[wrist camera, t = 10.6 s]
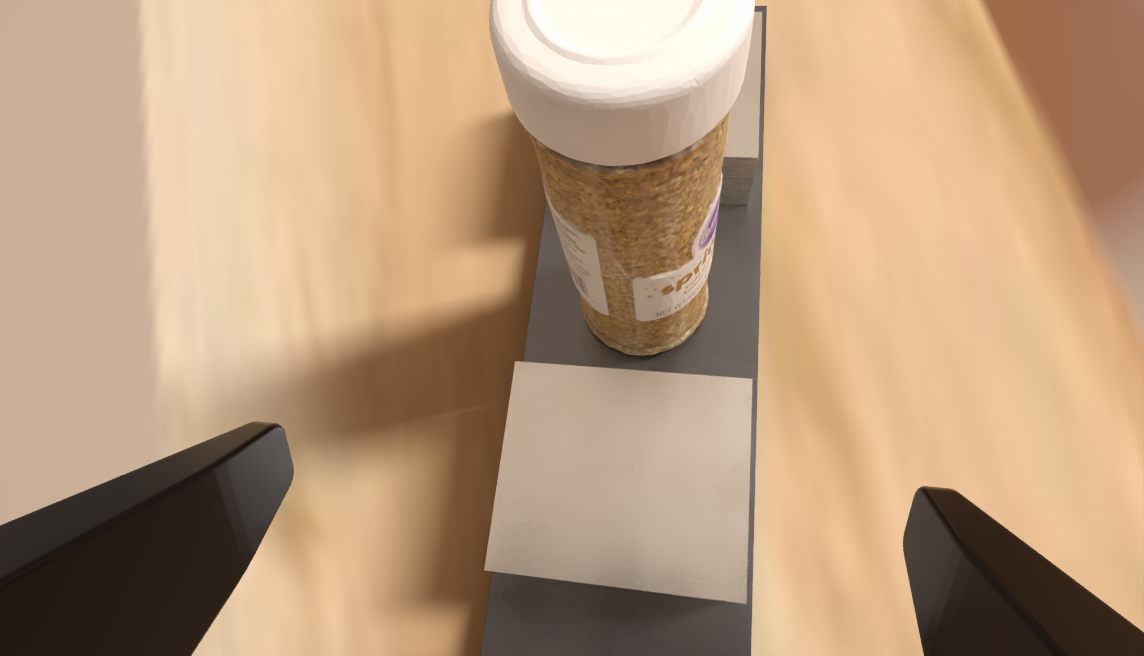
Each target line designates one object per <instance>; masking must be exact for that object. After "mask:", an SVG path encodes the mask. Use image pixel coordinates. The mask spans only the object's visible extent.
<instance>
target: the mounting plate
mask: <svg viewBox="0 0 1144 656" xmlns="http://www.w3.org/2000/svg"><path fill="white" fill-rule="evenodd" d="M766 8H767V6H755V10H754V18H753V26H752V33H751V41H750V49H749V54H748V60H747V65H746V70H745V76H744V81H743V84H742V86H741V89H740V92H739V94H738V96H737V98H736V100H735V102H734V104H733V105H732V107H731V109H730V111H729V117H728V123H727V127H728V129H727V134H726V142H725V152H724V157H723V165H722V171H721V172H722V187H721V193H720V202H719V210H718V219H717V225H716V231H715V239H714V247H713V256H712V262H711V267H710V271H709V274H708V280H707V284H708V305H707V308H706V312H705V316H704V318H703V319H702V321H701V322H700V324H699V326H698V327H697V328H696V329H695V331H694V332H693V333H692V334H691V335H690V337H689V338H687V339H686V340H685V341H684V342H683V343H681V344H679V345H677V346H676V347H674V348H673V349H670V350H667V351H664V352H659V353H657V354H654V355H644V356H640V355H629V354H625V353H623V352H621V351H618V350H616V349H615V348H612V347H609V346H607V345H606V344H605V343H604V342H603V341H602V340H600V339H599V338H598V337H597V336H596V335H595V334H594V333H593V332H592V331H591V329H590V328H589V326H588V324H587V322H586V320H585V319H584V317H583V314H582V310H581V303H580V292H579V291H578V289H577V288H576V285H575V283H574V281H573V278H572V275H571V272H570V269H569V266H568V263H567V260H566V257H565V254H564V251H563V248H562V245H561V241H560V238H559V235H558V232H557V229H556V225H555V222H554V219H553V216H552V213H551V210H550V207H549V204H548V201H547V199H546V206H545V213H544V220H543V227H542V234H541V241H540V248H539V254H538V261H537V268H536V275H535V282H534V289H533V296H532V303H531V310H530V317H529V324H528V330H527V337H526V344H525V351H524V358H523V362H520V361H515V366H514V373H513V379H512V386H511V393H510V400H509V406H508V413H507V420H506V426H505V433H504V440H503V447H502V453H501V460H500V467H499V473H498V480H497V487H496V494H495V500H494V507H493V514H492V521H491V527H490V534H489V541H488V547H487V554H486V561H485V568H484V570H486V571H493V572H492V579H491V586H490V593H489V600H488V607H487V614H486V620H485V627H484V634H483V641H482V648H481V655H480V656H751V625H752V584H753V543H754V502H755V461H756V419H757V378H758V337H759V296H760V255H761V214H762V173H763V132H764V90H765V49H766Z"/></svg>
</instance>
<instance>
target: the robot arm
mask: <svg viewBox="0 0 1144 656" xmlns="http://www.w3.org/2000/svg"><path fill="white" fill-rule="evenodd" d="M293 474H294V468H293V463H292V459H291V455H290V450H289V446H288V442H287V438H286V434H285V431H284V429H283V428H282V426H280V425H279V424H276V423H267V422H251V423H248V424H246V425H244V426H241V427H239V428H236V429H234V430H231V431H229V432H227V433H224V434H222V435H219V436H217V437H214V438H212V439H210V440H207V441H205V442H202V443H200V444H197V445H195V446H192V447H190V448H188V449H185V450H183V451H180V452H178V453H175V454H173V455H171V456H168V457H166V458H163V459H161V460H158V461H156V462H154V463H151V464H149V465H146V466H144V467H141V468H139V469H137V470H134V471H132V472H129V473H127V474H124V475H122V476H120V477H117V478H115V479H112V480H110V481H107V482H105V483H103V484H100V485H98V486H95V487H93V488H90V489H88V490H86V491H83V492H81V493H78V494H76V495H74V496H71V497H68V498H66V499H63V500H61V501H59V502H56V503H54V504H51V505H49V506H46V507H44V508H42V509H39V510H37V511H34V512H32V513H30V514H27V515H25V516H22V517H20V518H17V519H15V520H12V521H10V522H8V523H5V524H3V525H1V526H0V656H191V655H192V654H193V652H194V651H195V649H196V648H197V646H198V644H199V643H200V641H201V640H202V638H203V637H204V635H205V634H206V632H207V631H208V629H209V628H210V626H211V624H212V623H213V621H214V620H215V618H216V617H217V615H218V614H219V612H220V611H221V609H222V607H223V606H224V604H225V603H226V601H227V600H228V598H229V597H230V595H231V594H232V592H233V590H234V589H235V587H236V586H237V584H238V583H239V581H240V579H241V578H242V576H243V574H244V573H245V571H246V569H247V568H248V566H249V564H250V562H251V560H252V559H253V557H254V555H255V553H256V551H257V549H258V547H259V545H260V543H261V541H262V539H263V537H264V535H265V534H266V532H267V530H268V528H269V526H270V524H271V522H272V520H273V518H274V516H275V514H276V512H277V510H278V508H279V506H280V505H281V503H282V501H283V499H284V497H285V495H286V493H287V491H288V489H289V487H290V485H291V483H292V479H293ZM903 551H904V557H905V562H906V567H907V572H908V577H909V582H910V588H911V593H912V598H913V603H914V608H915V613H916V618H917V623H918V628H919V633H920V638H921V644H922V648H923V653H924V656H1144V632H1143V631H1141V630H1140V629H1139V628H1137V627H1136V626H1135V625H1133V624H1132V623H1131V622H1129V621H1128V620H1127V619H1125V618H1124V617H1123V616H1121V615H1120V614H1119V613H1117V612H1116V611H1115V610H1113V609H1112V608H1111V607H1109V606H1108V605H1107V604H1106V603H1104V602H1103V601H1102V600H1100V599H1099V598H1098V597H1096V596H1095V595H1094V594H1092V593H1091V592H1090V591H1088V590H1087V589H1086V588H1084V587H1083V586H1082V585H1080V584H1079V583H1078V582H1076V581H1075V580H1074V579H1072V578H1071V577H1070V576H1068V575H1067V574H1066V573H1064V572H1063V571H1062V570H1061V569H1059V568H1058V567H1057V566H1055V565H1054V564H1053V563H1051V562H1050V561H1049V560H1047V559H1046V558H1045V557H1043V556H1042V555H1041V554H1039V553H1038V552H1037V551H1035V550H1034V549H1033V548H1031V547H1030V546H1029V545H1027V544H1026V543H1025V542H1023V541H1022V540H1021V539H1019V538H1018V537H1017V536H1016V535H1014V534H1013V533H1012V532H1010V531H1009V530H1008V529H1006V528H1005V527H1004V526H1002V525H1001V524H1000V523H998V522H997V521H996V520H994V519H993V518H992V517H990V516H989V515H988V514H986V513H985V512H984V511H982V510H981V509H980V508H978V507H977V506H976V505H974V504H973V503H972V502H971V501H969V500H968V499H967V498H965V497H964V496H963V495H961V494H960V493H958V492H957V491H955V490H953V489H949V488H939V487H928V486H922V487H920V488H919V489H918V490H917V491H916V493H915V495H914V498H913V502H912V506H911V509H910V513H909V517H908V521H907V524H906V528H905V532H904V537H903Z"/></svg>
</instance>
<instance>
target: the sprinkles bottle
mask: <svg viewBox="0 0 1144 656" xmlns="http://www.w3.org/2000/svg"><path fill="white" fill-rule="evenodd" d="M754 10H755V0H491V3H490V11H489V28H490V35H491V41H492V44H493V48H494V52H495V55H496V59H497V63H498V67H499V70H500V73H501V76H502V79H503V82H504V86H505V89H506V92H507V95H508V98H509V101H510V104H511V106H512V108H513V110H514V113H515V115H516V116H517V118H518V119H519V121H520V122H521V124H522V125H523V127H524V129H525V130H526V132H527V133H528V135H529V136H530V138H531V141H532V144H533V146H534V149H535V153H536V156H537V159H538V162H539V166H540V171H541V174H542V181H543V186H544V191H545V195H546V198H547V201H548V204H549V207H550V210H551V213H552V216H553V219H554V222H555V225H556V229H557V232H558V235H559V238H560V241H561V245H562V248H563V251H564V254H565V257H566V260H567V263H568V266H569V269H570V272H571V275H572V278H573V281H574V283H575V285H576V288H577V289H578V291H579V292H580V303H581V310H582V314H583V317H584V319H585V320H586V322H587V324H588V326H589V328H590V329H591V331H592V332H593V333H594V334H595V335H596V336H597V337H598V338H599V339H600V340H602V341H603V342H604V343H605V344H606V345H607V346H609V347H612V348H615V349H616V350H618V351H621V352H623V353H625V354H629V355H640V356H644V355H654V354H657V353H659V352H664V351H667V350H670V349H673V348H674V347H676V346H677V345H679V344H681V343H683V342H684V341H685V340H686V339H687V338H689V337H690V335H691V334H692V333H693V332H694V331H695V329H696V328H697V327H698V326H699V324H700V322H701V321H702V319H703V318H704V316H705V312H706V308H707V305H708V284H707V280H708V274H709V271H710V267H711V262H712V256H713V247H714V239H715V231H716V225H717V219H718V210H719V202H720V193H721V187H722V172H721V171H722V165H723V157H724V152H725V142H726V134H727V129H728V127H727V123H728V117H729V111H730V109H731V107H732V105H733V104H734V102H735V100H736V98H737V96H738V94H739V92H740V89H741V86H742V84H743V81H744V76H745V70H746V65H747V60H748V54H749V49H750V41H751V33H752V26H753V18H754Z"/></svg>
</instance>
